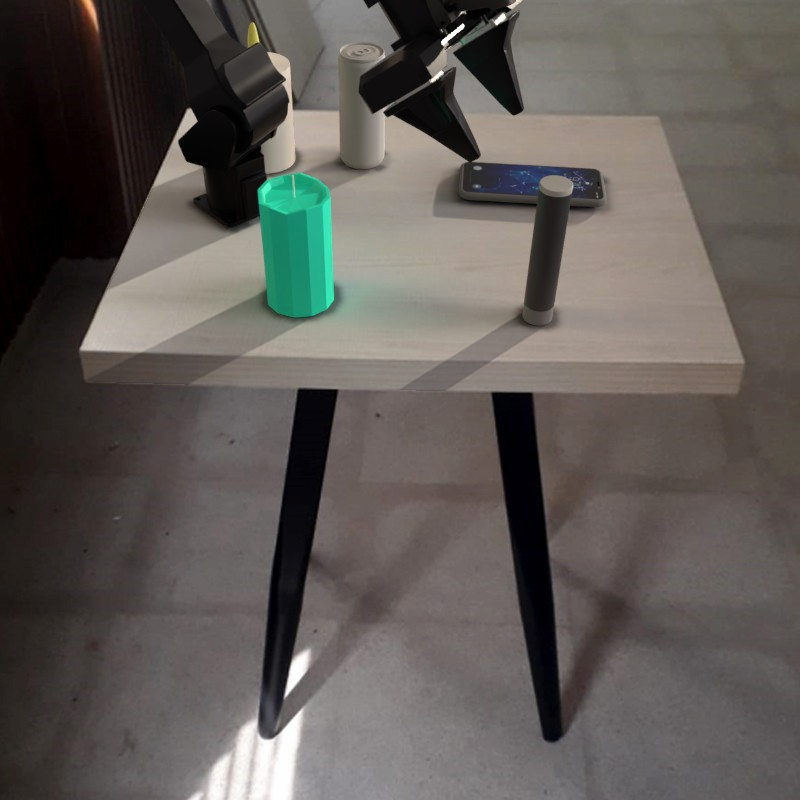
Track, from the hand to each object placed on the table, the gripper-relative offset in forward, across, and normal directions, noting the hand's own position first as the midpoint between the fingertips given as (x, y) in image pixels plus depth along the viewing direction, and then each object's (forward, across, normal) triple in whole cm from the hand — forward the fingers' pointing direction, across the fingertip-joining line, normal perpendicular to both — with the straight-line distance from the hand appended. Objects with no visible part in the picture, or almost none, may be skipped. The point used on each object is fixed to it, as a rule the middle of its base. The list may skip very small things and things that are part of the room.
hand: (498, 135), depth 78 cm
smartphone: (+10, +17, +10) cm, 23 cm away
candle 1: (-7, +10, +32) cm, 34 cm away
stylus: (+15, -3, +4) cm, 16 cm away
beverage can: (-1, +14, +25) cm, 29 cm away
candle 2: (+3, -10, +19) cm, 22 cm away
